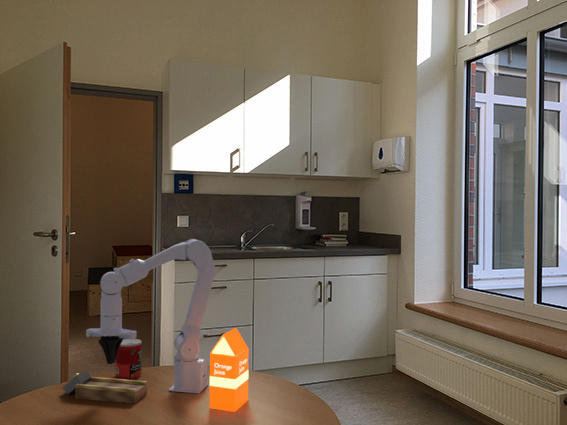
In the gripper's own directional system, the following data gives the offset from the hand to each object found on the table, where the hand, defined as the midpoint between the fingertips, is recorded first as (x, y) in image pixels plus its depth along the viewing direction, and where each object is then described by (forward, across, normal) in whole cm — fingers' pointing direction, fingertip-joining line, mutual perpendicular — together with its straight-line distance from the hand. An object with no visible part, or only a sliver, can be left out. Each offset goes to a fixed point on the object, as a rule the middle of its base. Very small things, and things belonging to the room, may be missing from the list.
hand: (111, 362), depth 139 cm
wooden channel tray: (+9, 0, 0) cm, 9 cm away
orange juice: (+10, +34, +2) cm, 36 cm away
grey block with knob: (+7, -10, 0) cm, 13 cm away
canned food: (+10, -4, +17) cm, 20 cm away
